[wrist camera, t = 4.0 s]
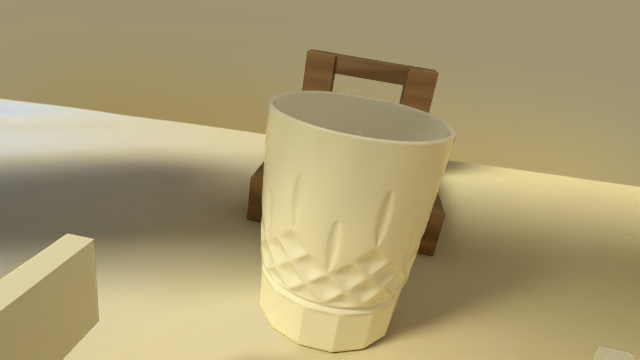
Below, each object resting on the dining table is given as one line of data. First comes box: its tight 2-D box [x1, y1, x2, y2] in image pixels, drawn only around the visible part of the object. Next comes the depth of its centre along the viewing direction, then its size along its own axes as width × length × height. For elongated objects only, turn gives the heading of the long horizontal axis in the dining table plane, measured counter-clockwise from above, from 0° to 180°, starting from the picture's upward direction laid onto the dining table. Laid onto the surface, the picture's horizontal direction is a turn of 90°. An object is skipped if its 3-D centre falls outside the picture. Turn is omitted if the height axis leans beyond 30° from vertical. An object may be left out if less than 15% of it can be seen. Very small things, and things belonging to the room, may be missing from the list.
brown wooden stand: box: [247, 49, 445, 256], centre depth 34 cm, size 16×12×10 cm
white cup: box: [260, 91, 456, 352], centre depth 20 cm, size 8×8×10 cm
